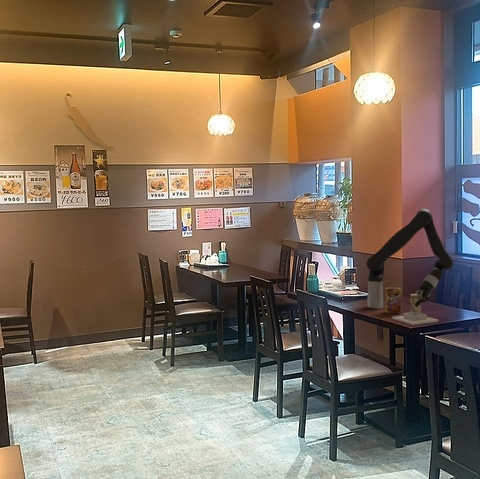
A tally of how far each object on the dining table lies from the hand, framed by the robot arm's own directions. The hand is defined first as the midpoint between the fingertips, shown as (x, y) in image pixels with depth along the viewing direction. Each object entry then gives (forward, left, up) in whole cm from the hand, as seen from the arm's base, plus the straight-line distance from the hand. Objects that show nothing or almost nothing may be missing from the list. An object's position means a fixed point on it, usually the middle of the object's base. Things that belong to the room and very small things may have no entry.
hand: (413, 305), depth 347 cm
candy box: (-11, -6, -6) cm, 14 cm away
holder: (+13, -9, -6) cm, 17 cm away
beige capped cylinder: (0, +2, -6) cm, 6 cm away
